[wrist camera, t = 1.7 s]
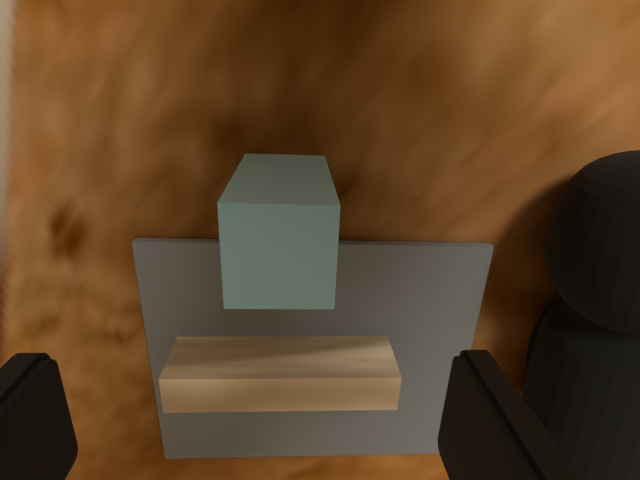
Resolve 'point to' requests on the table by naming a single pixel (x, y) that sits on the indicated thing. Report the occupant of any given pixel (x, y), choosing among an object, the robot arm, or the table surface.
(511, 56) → the table surface
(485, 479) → the robot arm
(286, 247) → the block
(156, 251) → the panel
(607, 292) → the figurine
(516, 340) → the table surface
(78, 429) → the table surface
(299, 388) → the plank
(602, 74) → the table surface
